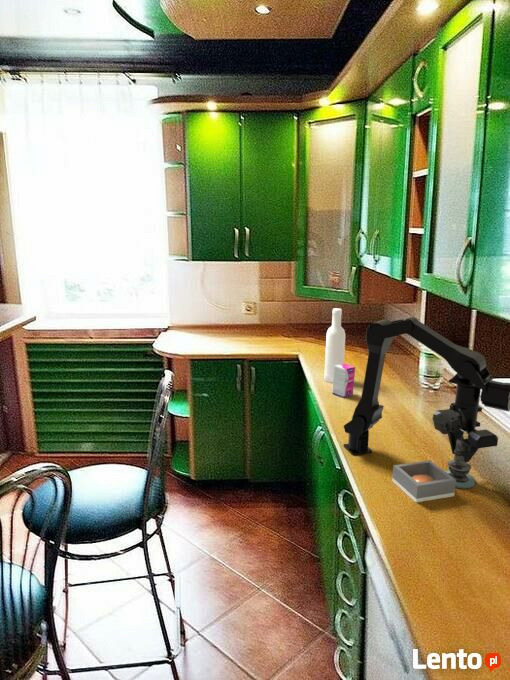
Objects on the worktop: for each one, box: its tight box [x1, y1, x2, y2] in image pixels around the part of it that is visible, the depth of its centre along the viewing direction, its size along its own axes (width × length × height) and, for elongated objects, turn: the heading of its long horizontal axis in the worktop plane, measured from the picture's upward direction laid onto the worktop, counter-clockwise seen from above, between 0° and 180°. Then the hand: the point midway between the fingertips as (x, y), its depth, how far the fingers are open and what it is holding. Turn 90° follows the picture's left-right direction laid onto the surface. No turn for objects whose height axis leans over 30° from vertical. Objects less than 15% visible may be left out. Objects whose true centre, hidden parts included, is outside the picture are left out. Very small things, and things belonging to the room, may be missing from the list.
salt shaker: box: [447, 435, 472, 483], centre depth 141 cm, size 6×6×12 cm
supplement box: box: [331, 362, 356, 399], centre depth 205 cm, size 6×6×12 cm
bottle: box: [323, 307, 346, 384], centre depth 220 cm, size 8×8×30 cm
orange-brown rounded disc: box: [412, 475, 434, 483], centre depth 138 cm, size 6×6×1 cm
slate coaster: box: [444, 469, 476, 490], centre depth 142 cm, size 8×8×1 cm
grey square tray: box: [391, 459, 456, 503], centre depth 138 cm, size 11×11×4 cm
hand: (460, 457), depth 141 cm, fingers open, 5 cm apart
